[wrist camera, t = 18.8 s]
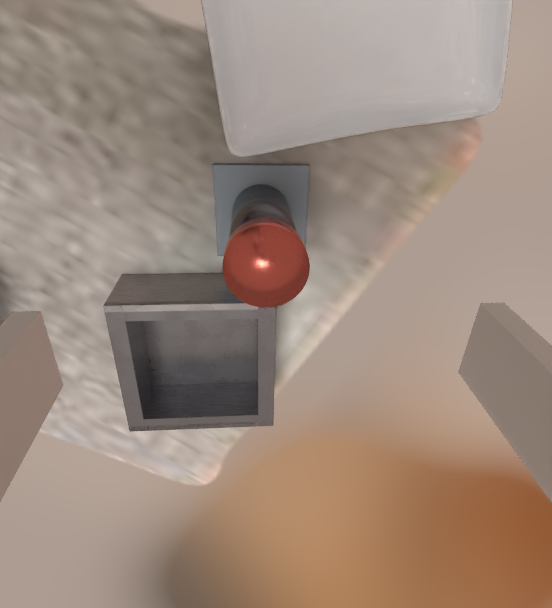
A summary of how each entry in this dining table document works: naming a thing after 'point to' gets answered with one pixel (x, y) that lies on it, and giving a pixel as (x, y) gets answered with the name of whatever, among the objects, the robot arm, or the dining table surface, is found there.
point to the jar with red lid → (264, 249)
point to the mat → (242, 176)
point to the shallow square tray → (191, 353)
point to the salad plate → (351, 66)
